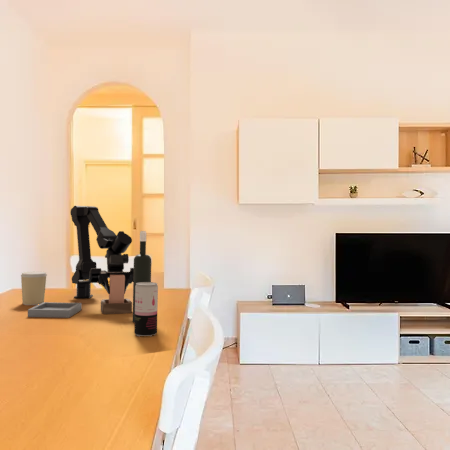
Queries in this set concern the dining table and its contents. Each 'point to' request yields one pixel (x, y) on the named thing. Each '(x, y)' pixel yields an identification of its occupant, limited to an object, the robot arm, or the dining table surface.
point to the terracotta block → (116, 288)
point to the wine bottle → (141, 267)
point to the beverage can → (146, 308)
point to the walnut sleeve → (116, 307)
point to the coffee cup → (33, 287)
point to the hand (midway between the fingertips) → (116, 293)
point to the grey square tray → (54, 309)
